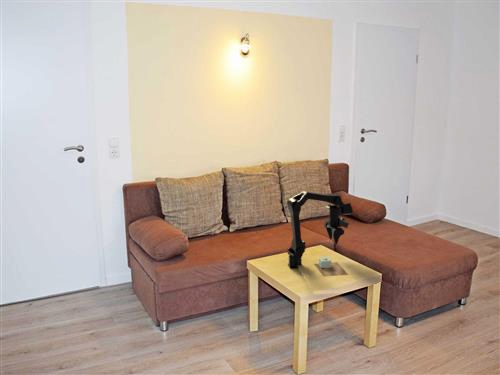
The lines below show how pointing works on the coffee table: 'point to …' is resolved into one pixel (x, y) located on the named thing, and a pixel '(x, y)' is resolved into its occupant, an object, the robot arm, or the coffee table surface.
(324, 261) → the pale green knobbed block
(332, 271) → the board
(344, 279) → the coffee table surface
